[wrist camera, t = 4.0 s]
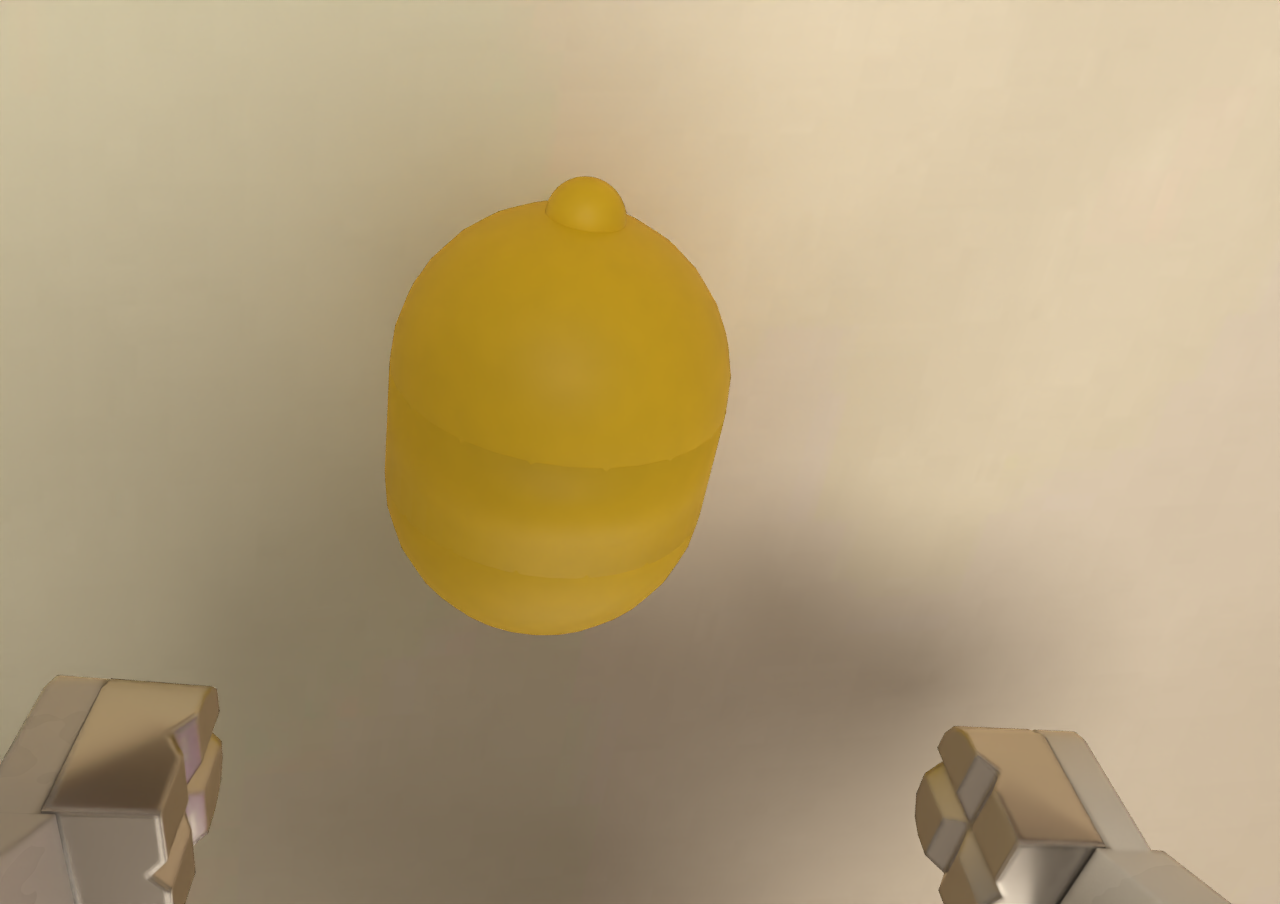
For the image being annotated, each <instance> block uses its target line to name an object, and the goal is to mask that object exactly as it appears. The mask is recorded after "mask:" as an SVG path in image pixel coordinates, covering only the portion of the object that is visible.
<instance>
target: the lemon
mask: <svg viewBox="0 0 1280 904" xmlns="http://www.w3.org/2000/svg"><path fill="white" fill-rule="evenodd" d="M730 379H731V373H730V361H729V349H728V342H727V337H726V332H725V329H724V326H723V322H722V319H721V316H720V313H719V310H718V306H717V304H716V302H715V300H714V299H713V297H712V295H711V293H710V292H709V290H708V288H707V286H706V285H705V283H704V281H703V279H702V278H701V276H700V274H699V273H698V271H697V270H696V268H695V267H694V266H693V265H692V264H691V263H690V262H689V261H688V260H687V258H686V257H685V256H684V255H683V254H682V253H681V252H680V251H679V250H678V249H677V248H676V247H675V246H674V245H673V244H672V243H671V242H670V241H669V240H668V239H667V238H665V237H664V236H662V235H661V234H659V233H658V232H656V231H655V230H653V229H651V228H650V227H648V226H647V225H645V224H644V223H642V222H640V221H639V220H637V219H635V218H633V217H631V216H629V215H627V214H626V210H625V206H624V203H623V201H622V199H621V197H620V196H619V194H618V193H617V191H616V190H615V189H614V188H613V187H612V186H610V185H609V184H608V183H606V182H605V181H603V180H601V179H598V178H594V177H587V176H584V177H576V178H573V179H570V180H568V181H566V182H564V183H562V184H561V185H560V186H559V187H557V189H556V190H555V191H554V192H553V193H552V195H551V196H550V198H549V200H548V201H541V202H534V203H530V204H525V205H521V206H517V207H513V208H509V209H505V210H502V211H498V212H496V213H494V214H492V215H490V216H488V217H486V218H485V219H483V220H481V221H479V222H477V223H475V224H473V225H471V226H470V227H468V228H466V229H464V230H462V231H461V232H460V233H459V234H458V235H457V236H456V237H455V238H453V239H452V240H451V241H450V242H449V243H448V244H447V245H446V246H444V247H443V248H442V249H441V250H440V251H439V252H438V253H437V254H436V255H434V256H433V257H432V258H431V259H430V261H429V262H428V263H427V265H426V266H425V268H424V269H423V271H422V272H421V273H420V275H419V276H418V278H417V279H416V280H415V282H414V283H413V285H412V287H411V289H410V291H409V293H408V295H407V298H406V300H405V303H404V305H403V308H402V310H401V312H400V315H399V317H398V320H397V322H396V325H395V330H394V336H393V342H392V349H391V355H390V366H389V388H388V410H387V433H386V455H385V482H386V495H387V506H388V509H389V512H390V516H391V519H392V522H393V525H394V528H395V531H396V533H397V536H398V539H399V542H400V545H401V548H402V549H403V551H404V552H405V554H406V555H407V557H408V558H409V560H410V561H411V563H412V564H413V566H414V567H415V568H416V570H417V571H418V573H419V574H420V576H421V577H422V578H423V580H424V581H425V583H426V584H427V585H428V586H430V587H431V588H432V589H433V590H434V591H435V592H436V593H437V594H438V595H439V596H440V597H441V598H443V599H444V600H445V601H447V602H448V603H450V604H451V605H452V606H454V607H455V608H457V609H458V610H460V611H462V612H463V613H465V614H466V615H468V616H469V617H471V618H473V619H475V620H477V621H480V622H482V623H484V624H487V625H489V626H491V627H495V628H499V629H503V630H506V631H510V632H514V633H522V634H530V635H560V634H567V633H573V632H579V631H582V630H585V629H588V628H591V627H594V626H597V625H600V624H603V623H605V622H608V621H611V620H613V619H615V618H617V617H619V616H621V615H623V614H624V613H626V612H628V611H630V610H632V609H633V608H634V607H635V606H637V605H638V604H639V603H640V602H642V601H643V600H644V599H645V598H646V597H648V596H649V595H650V594H651V593H652V592H653V591H654V590H656V589H657V588H658V587H659V586H660V585H661V584H662V583H663V582H664V581H665V580H666V578H667V577H668V575H669V574H670V573H671V571H672V570H673V568H674V567H675V566H676V564H677V563H678V561H679V560H680V558H681V557H682V555H683V553H684V552H685V550H686V549H687V547H688V545H689V542H690V540H691V537H692V535H693V532H694V529H695V527H696V524H697V521H698V518H699V515H700V512H701V508H702V504H703V500H704V496H705V492H706V488H707V484H708V480H709V477H710V473H711V469H712V465H713V461H714V457H715V453H716V449H717V445H718V441H719V438H720V434H721V430H722V426H723V422H724V418H725V414H726V407H727V401H728V394H729V386H730Z"/></svg>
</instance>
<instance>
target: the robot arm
mask: <svg viewBox="0 0 1280 904" xmlns="http://www.w3.org/2000/svg"><path fill="white" fill-rule="evenodd" d="M219 712H220V710H219V701H218V692H217V689H216V688H214V687H212V686H201V685H189V684H176V683H163V682H151V681H138V680H125V679H113V678H111V679H103V678H90V677H76V676H63V675H57V676H56V677H55V678H54V679H53V680H52V681H51V682H49V683H48V684H47V685H46V686H45V687H44V688H43V690H42V692H41V693H40V695H39V697H38V699H37V700H36V702H35V704H34V706H33V708H32V709H31V711H30V713H29V715H28V716H27V718H26V720H25V722H24V723H23V725H22V727H21V729H20V730H19V732H18V734H17V736H16V737H15V739H14V741H13V743H12V744H11V746H10V748H9V750H8V751H7V753H6V755H5V757H4V759H3V760H2V762H1V764H0V904H185V903H186V900H187V897H188V894H189V891H190V888H191V885H192V881H193V878H194V875H195V872H196V871H195V860H194V849H193V845H194V844H195V843H197V842H198V841H199V840H200V839H201V838H203V837H204V836H205V835H206V834H207V833H208V832H209V829H210V825H211V822H212V819H213V816H214V812H215V809H216V805H217V799H218V794H219V789H220V784H221V778H222V762H223V753H222V741H221V740H220V739H219V738H218V737H217V736H216V735H215V734H214V733H213V729H214V726H215V724H216V721H217V718H218V715H219ZM937 748H938V751H939V753H940V755H941V758H942V760H943V761H942V762H941V763H939V764H938V765H936V766H935V767H933V768H932V769H930V770H929V771H928V772H926V773H925V774H924V776H923V779H922V781H921V783H920V786H919V788H918V790H917V793H916V805H915V820H916V826H917V832H918V836H919V839H920V842H921V845H922V848H923V850H924V853H925V855H926V856H927V857H928V858H929V859H930V860H931V861H932V862H933V863H934V864H935V865H936V866H937V867H939V868H940V869H941V870H942V871H943V872H944V875H943V878H942V881H941V884H940V887H939V890H938V891H939V893H940V896H941V898H942V901H943V904H1231V903H1230V902H1229V901H1227V900H1226V899H1225V898H1223V897H1222V896H1221V895H1220V894H1218V893H1217V892H1216V891H1214V890H1213V889H1212V888H1211V887H1209V886H1208V885H1207V884H1205V883H1204V882H1203V881H1201V880H1200V879H1199V878H1198V877H1196V876H1195V875H1194V874H1192V873H1191V872H1190V871H1189V870H1187V869H1186V868H1185V867H1183V866H1182V865H1181V864H1180V863H1178V862H1177V861H1176V860H1174V859H1173V858H1172V857H1170V856H1169V855H1168V854H1167V853H1165V852H1164V851H1157V850H1151V849H1150V847H1149V846H1148V844H1147V842H1146V841H1145V839H1144V837H1143V836H1142V834H1141V832H1140V831H1139V829H1138V827H1137V826H1136V824H1135V822H1134V821H1133V819H1132V817H1131V816H1130V814H1129V812H1128V811H1127V809H1126V807H1125V806H1124V804H1123V802H1122V801H1121V799H1120V797H1119V796H1118V794H1117V792H1116V791H1115V789H1114V787H1113V786H1112V784H1111V782H1110V781H1109V779H1108V777H1107V776H1106V774H1105V773H1104V771H1103V769H1102V768H1101V766H1100V764H1099V763H1098V761H1097V759H1096V758H1095V756H1094V754H1093V753H1092V751H1091V749H1090V748H1089V746H1088V744H1087V743H1086V741H1085V740H1084V739H1083V738H1082V737H1081V736H1079V735H1078V734H1077V733H1076V732H1072V731H1051V730H1029V729H1015V728H991V727H968V726H954V727H952V728H951V729H949V730H948V731H947V732H945V734H944V735H943V737H942V739H941V741H940V743H939V745H938V747H937Z"/></svg>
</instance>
